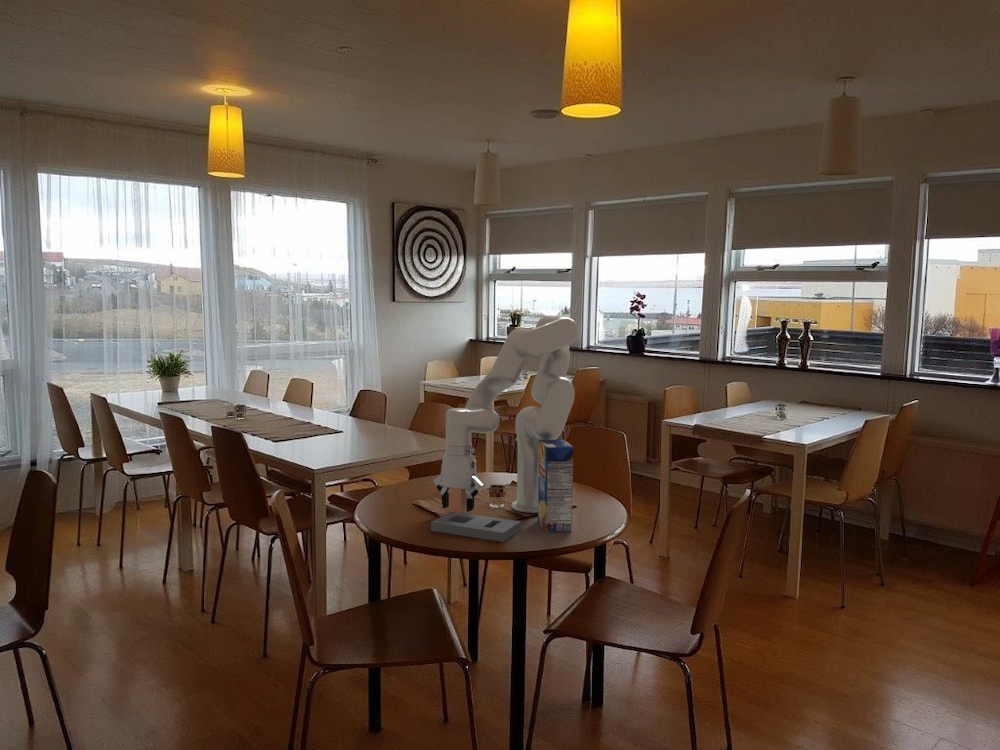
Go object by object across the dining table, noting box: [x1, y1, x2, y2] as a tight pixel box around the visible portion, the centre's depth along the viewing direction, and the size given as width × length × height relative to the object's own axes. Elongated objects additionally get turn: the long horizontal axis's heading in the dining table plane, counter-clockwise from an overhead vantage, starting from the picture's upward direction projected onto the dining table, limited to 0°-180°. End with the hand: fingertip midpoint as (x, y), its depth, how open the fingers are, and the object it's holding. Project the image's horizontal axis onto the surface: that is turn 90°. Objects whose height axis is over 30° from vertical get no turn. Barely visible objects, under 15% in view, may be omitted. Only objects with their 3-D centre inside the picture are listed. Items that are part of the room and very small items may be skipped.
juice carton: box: [537, 439, 575, 534], centre depth 217 cm, size 12×8×24 cm, turn 7°
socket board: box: [430, 512, 522, 543], centre depth 213 cm, size 12×22×2 cm, turn 65°
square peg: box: [448, 488, 468, 514], centre depth 226 cm, size 4×4×9 cm
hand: (457, 508), depth 226 cm, fingers open, 7 cm apart
